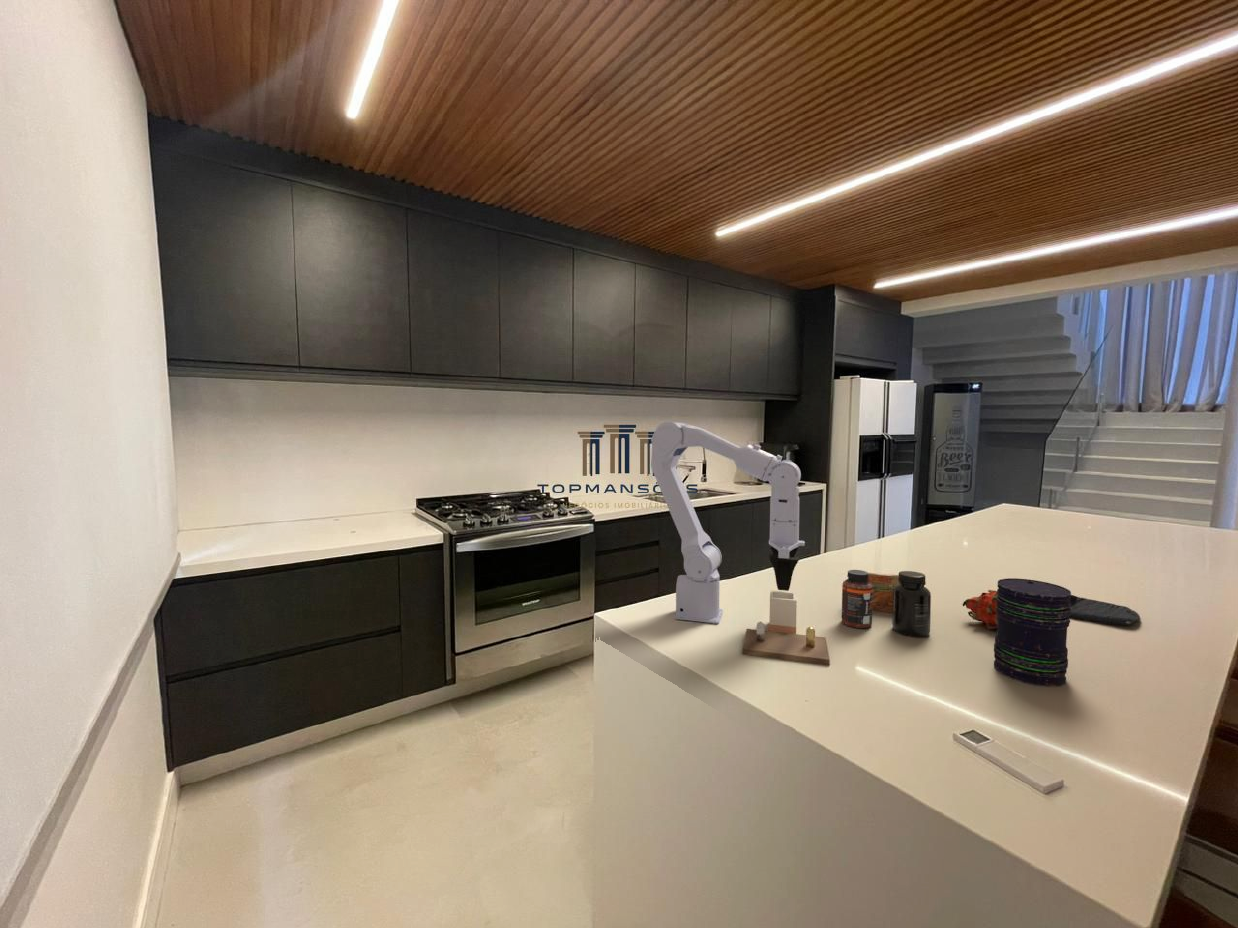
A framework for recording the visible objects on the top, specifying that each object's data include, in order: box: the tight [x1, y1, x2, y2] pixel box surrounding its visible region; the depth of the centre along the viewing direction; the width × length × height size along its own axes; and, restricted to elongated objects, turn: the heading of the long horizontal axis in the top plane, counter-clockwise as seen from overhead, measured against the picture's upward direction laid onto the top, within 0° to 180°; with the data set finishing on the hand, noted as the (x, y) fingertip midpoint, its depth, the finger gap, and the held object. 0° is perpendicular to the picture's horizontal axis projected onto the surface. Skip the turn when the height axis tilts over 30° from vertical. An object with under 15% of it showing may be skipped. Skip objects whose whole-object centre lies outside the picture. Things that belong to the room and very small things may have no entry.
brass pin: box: [805, 626, 816, 648], centre depth 96 cm, size 2×2×4 cm
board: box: [742, 628, 831, 666], centre depth 98 cm, size 15×10×1 cm, turn 72°
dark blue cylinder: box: [993, 577, 1072, 688], centre depth 87 cm, size 10×10×15 cm
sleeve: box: [768, 590, 798, 634], centre depth 107 cm, size 5×5×7 cm
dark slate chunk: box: [1070, 594, 1141, 626], centre depth 116 cm, size 15×22×5 cm
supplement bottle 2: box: [891, 570, 932, 638], centre depth 105 cm, size 7×7×12 cm
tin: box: [868, 572, 899, 614], centre depth 117 cm, size 15×3×8 cm, turn 68°
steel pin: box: [756, 621, 766, 642], centre depth 99 cm, size 2×2×4 cm
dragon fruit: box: [962, 589, 998, 631], centre depth 106 cm, size 8×8×12 cm
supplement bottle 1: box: [841, 569, 874, 629], centre depth 109 cm, size 6×6×11 cm
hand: (783, 584), depth 107 cm, fingers open, 7 cm apart
